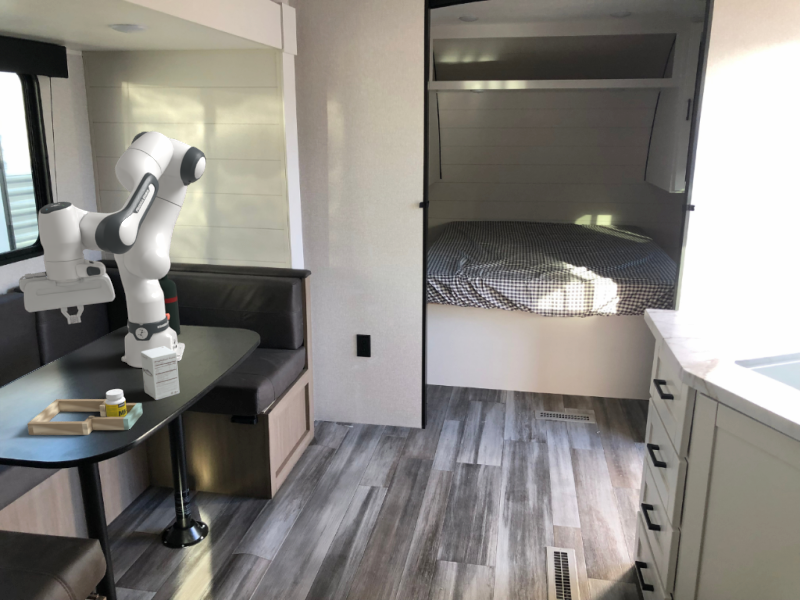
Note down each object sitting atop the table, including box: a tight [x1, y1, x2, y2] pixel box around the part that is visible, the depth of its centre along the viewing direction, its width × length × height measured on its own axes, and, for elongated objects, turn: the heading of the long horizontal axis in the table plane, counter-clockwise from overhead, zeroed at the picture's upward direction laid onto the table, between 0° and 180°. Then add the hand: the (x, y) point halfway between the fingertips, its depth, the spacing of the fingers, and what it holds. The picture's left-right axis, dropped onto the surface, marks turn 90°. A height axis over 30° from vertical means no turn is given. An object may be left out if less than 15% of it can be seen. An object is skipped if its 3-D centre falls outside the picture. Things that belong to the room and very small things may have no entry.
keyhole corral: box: [27, 398, 143, 436], centre depth 164 cm, size 14×23×3 cm, turn 92°
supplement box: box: [141, 346, 181, 401], centre depth 180 cm, size 7×7×13 cm
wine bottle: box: [158, 273, 181, 336], centre depth 229 cm, size 8×10×30 cm
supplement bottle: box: [105, 388, 127, 417], centre depth 163 cm, size 5×5×8 cm
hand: (74, 322), depth 161 cm, fingers closed
